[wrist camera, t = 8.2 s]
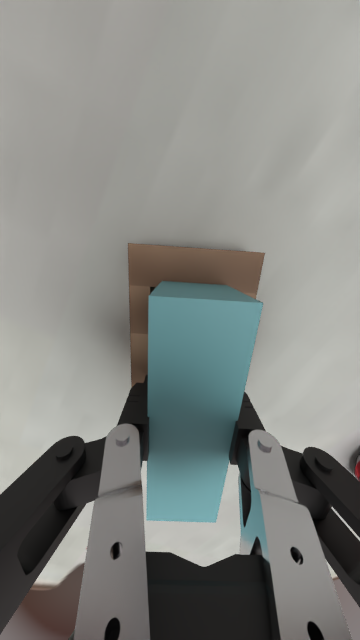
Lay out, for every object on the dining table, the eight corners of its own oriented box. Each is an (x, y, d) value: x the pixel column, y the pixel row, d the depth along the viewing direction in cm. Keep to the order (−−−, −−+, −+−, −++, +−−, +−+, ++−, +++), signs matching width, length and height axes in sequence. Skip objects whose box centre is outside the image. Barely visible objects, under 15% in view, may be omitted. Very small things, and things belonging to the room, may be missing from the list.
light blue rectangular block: (165, 277, 13) (148, 295, 6) (218, 280, 13) (263, 303, 6) (160, 413, 17) (146, 520, 10) (200, 415, 17) (215, 522, 10)
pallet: (139, 247, 13) (127, 243, 10) (246, 254, 13) (264, 252, 10) (140, 423, 18) (133, 453, 15) (217, 427, 18) (223, 457, 16)
